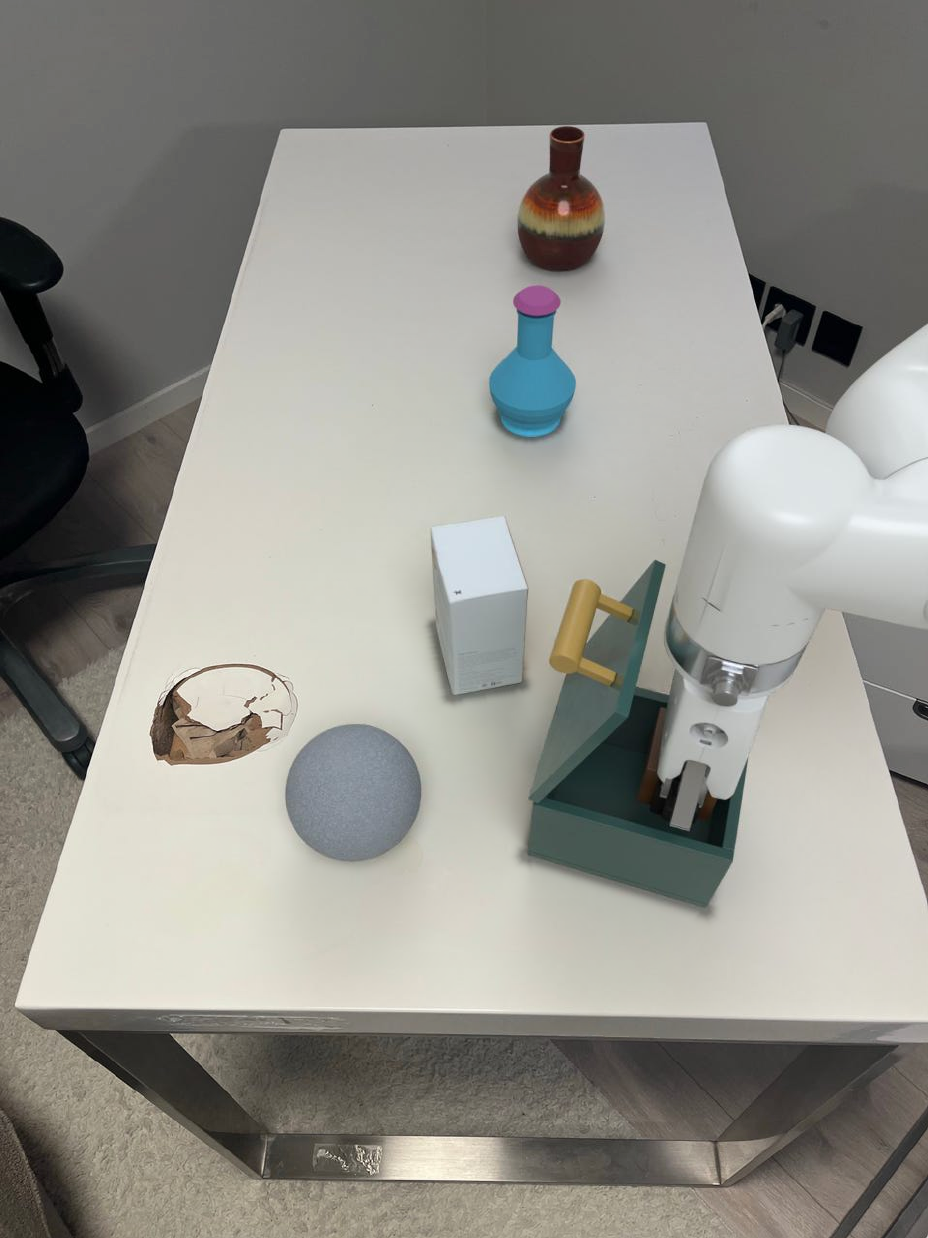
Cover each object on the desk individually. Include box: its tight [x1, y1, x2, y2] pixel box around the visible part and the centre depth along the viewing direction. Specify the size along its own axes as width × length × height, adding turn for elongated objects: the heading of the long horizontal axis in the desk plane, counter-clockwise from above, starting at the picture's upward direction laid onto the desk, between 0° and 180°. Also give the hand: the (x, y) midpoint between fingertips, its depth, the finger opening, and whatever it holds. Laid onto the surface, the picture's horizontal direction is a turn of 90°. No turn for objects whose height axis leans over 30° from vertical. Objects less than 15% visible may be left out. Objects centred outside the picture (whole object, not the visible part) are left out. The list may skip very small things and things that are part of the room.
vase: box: [516, 125, 606, 272], centre depth 112 cm, size 11×11×15 cm
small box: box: [430, 515, 529, 696], centre depth 75 cm, size 8×6×13 cm
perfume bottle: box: [488, 285, 577, 438], centre depth 93 cm, size 9×9×15 cm
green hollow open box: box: [527, 686, 750, 909], centre depth 67 cm, size 14×12×9 cm
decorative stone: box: [284, 723, 422, 863], centre depth 67 cm, size 10×10×10 cm
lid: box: [528, 559, 667, 803], centre depth 59 cm, size 14×12×5 cm
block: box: [637, 708, 718, 821], centre depth 63 cm, size 5×5×5 cm
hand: (679, 778), depth 64 cm, fingers closed on block, 5 cm apart
